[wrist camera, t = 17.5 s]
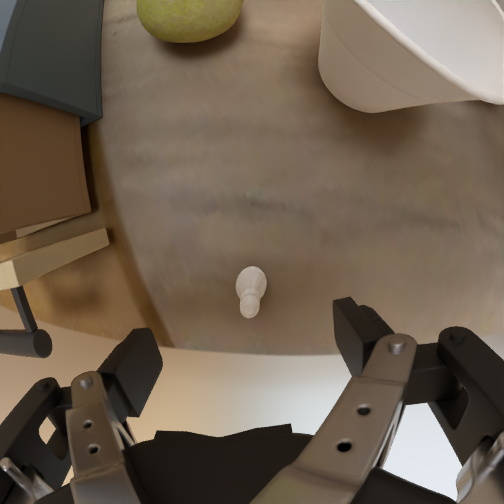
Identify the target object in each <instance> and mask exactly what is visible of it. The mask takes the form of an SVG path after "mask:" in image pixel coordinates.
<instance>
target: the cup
mask: <svg viewBox="0 0 504 504" xmlns="http://www.w3.org/2000/svg"><path fill="white" fill-rule="evenodd" d="M318 67H319V72H320V75H321V78H322V80H323V82H324V84H325V86H326V87H327V88H328V90H329V91H330V92H331V93H332V94H333V95H334V96H335V97H336V98H337V99H338V100H339V101H341V102H342V103H344V104H345V105H347V106H349V107H351V108H353V109H355V110H358V111H361V112H367V113H379V112H385V111H390V110H395V109H401V108H407V107H412V106H420V105H427V104H434V103H446V102H457V101H469V100H482V101H485V102H489V103H494V104H499V105H502V104H504V12H503V11H502V9H501V8H500V6H499V5H498V3H497V2H496V1H495V0H323V7H322V22H321V36H320V48H319V58H318Z"/></svg>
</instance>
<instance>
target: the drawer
mask: <svg viewBox="0 0 504 504" xmlns="http://www.w3.org/2000/svg"><path fill="white" fill-rule="evenodd" d="M90 212H91V207H90V201H89V196H88V190H87V184H86V177H85V170H84V162H83V154H82V144H81V132H80V117H79V115H76V114H73V113H70V112H67V111H64V110H60V109H57V108H54V107H51V106H48V105H45V104H41V103H38V102H35V101H31V100H28V99H24V98H21V97H17V96H13V95H10V94H6V93H2V92H0V244H3V243H6V242H10V241H13V240H16V239H19V238H22V237H24V236H27V235H29V234H32V233H34V232H37V231H39V230H42V229H44V228H47V227H50V226H52V225H55V224H58V223H61V222H63V221H66V220H69V219H72V218H75V217H78V216H81V215H84V214H87V213H90ZM108 245H109V240H108V236H107V232H106V228H103V229H99V230H96V231H92V232H89V233H85V234H82V235H79V236H75V237H72V238H69V239H65V240H62V241H59V242H56V243H53V244H50V245H47V246H43V247H40V248H37V249H34V250H31V251H29V252H26V253H23V254H20V255H17V256H14V257H12V258H9V259H6V260H4V261H1V262H0V291H1V290H6V289H11V291H12V294H13V297H14V300H15V303H16V306H17V309H18V311H19V314H20V317H21V319H22V322H23V324H24V327H25V329H26V330H0V353H2V354H10V355H17V356H26V357H37V358H46V357H48V356H49V355H50V354H51V351H52V340H51V338H50V336H49V334H48V333H47V332H46V331H45V330H42V329H38V327H37V324H36V322H35V319H34V317H33V314H32V312H31V309H30V306H29V303H28V301H27V298H26V295H25V292H24V289H23V286H22V285H24V284H26V283H28V282H30V281H32V280H34V279H36V278H38V277H40V276H42V275H44V274H46V273H48V272H50V271H52V270H54V269H57V268H59V267H61V266H63V265H65V264H67V263H70V262H72V261H74V260H76V259H78V258H81V257H83V256H85V255H87V254H90V253H92V252H94V251H97V250H99V249H101V248H104V247H106V246H108Z"/></svg>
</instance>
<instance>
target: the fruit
mask: <svg viewBox="0 0 504 504" xmlns="http://www.w3.org/2000/svg"><path fill="white" fill-rule="evenodd" d="M242 4H243V0H137V12H138V16H139V19H140V21H141V23H142V25H143V26H144V28H145V29H146V30H147V31H148V32H149V33H150V34H151V35H153V36H154V37H156V38H158V39H160V40H163V41H168V42H177V43H186V42H200V41H204V40H208V39H210V38H213V37H215V36H218V35H220V34H222V33H224V32H225V31H227V30H228V29H229V28H230V27H231V26H232V25H233V24H234V23H235V22H236V20H237V18H238V16H239V14H240V11H241V8H242Z"/></svg>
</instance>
